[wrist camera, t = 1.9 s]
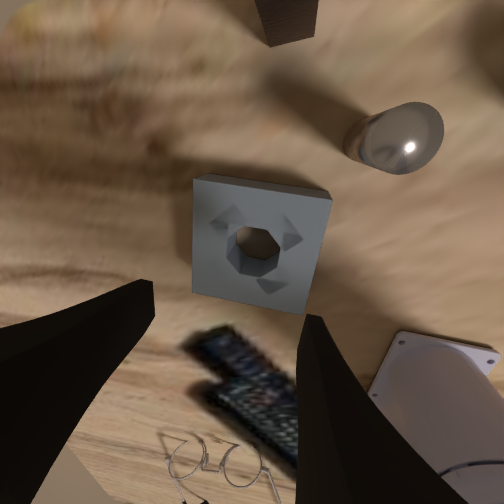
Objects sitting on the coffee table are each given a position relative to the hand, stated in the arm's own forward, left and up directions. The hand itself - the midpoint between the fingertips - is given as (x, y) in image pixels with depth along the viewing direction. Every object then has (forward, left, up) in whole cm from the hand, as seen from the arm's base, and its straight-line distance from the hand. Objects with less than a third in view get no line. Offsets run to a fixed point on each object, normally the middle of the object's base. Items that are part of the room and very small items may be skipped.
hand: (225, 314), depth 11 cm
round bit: (+8, -6, -10) cm, 14 cm away
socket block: (0, 0, -10) cm, 10 cm away
